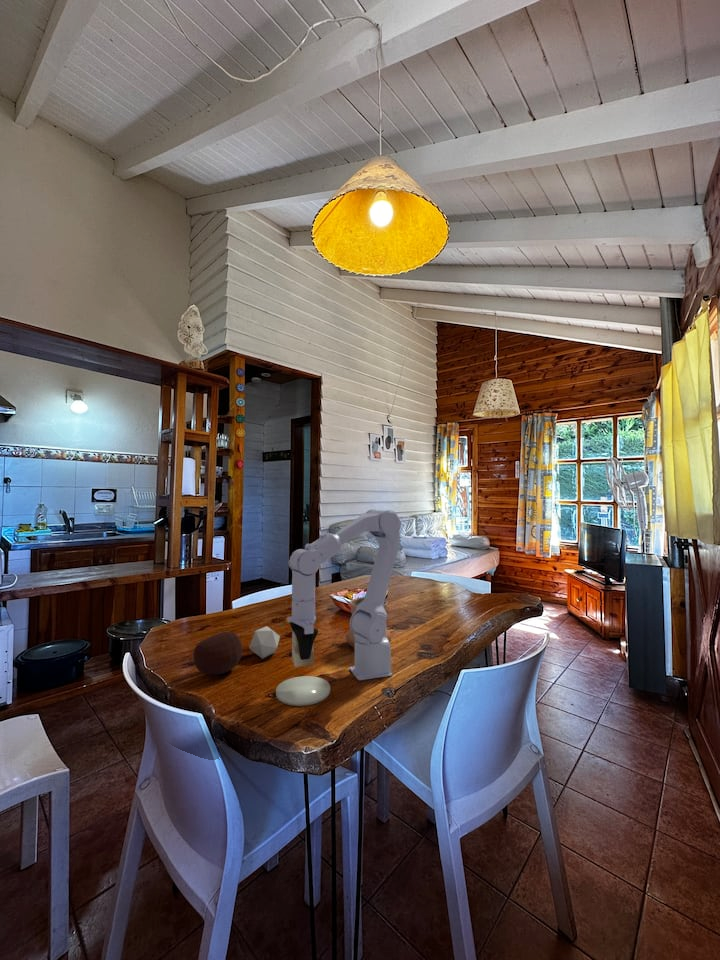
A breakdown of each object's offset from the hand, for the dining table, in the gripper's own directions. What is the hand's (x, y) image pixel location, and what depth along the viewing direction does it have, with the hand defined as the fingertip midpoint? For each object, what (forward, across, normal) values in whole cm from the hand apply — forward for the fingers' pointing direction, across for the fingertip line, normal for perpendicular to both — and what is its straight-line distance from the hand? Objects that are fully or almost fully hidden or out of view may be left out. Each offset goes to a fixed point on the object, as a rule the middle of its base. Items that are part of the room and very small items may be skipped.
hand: (303, 655), depth 98 cm
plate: (+9, 0, 0) cm, 9 cm away
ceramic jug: (+9, -24, +25) cm, 36 cm away
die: (+9, -26, -7) cm, 29 cm away
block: (+2, 0, 0) cm, 2 cm away
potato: (+9, -17, -20) cm, 28 cm away
